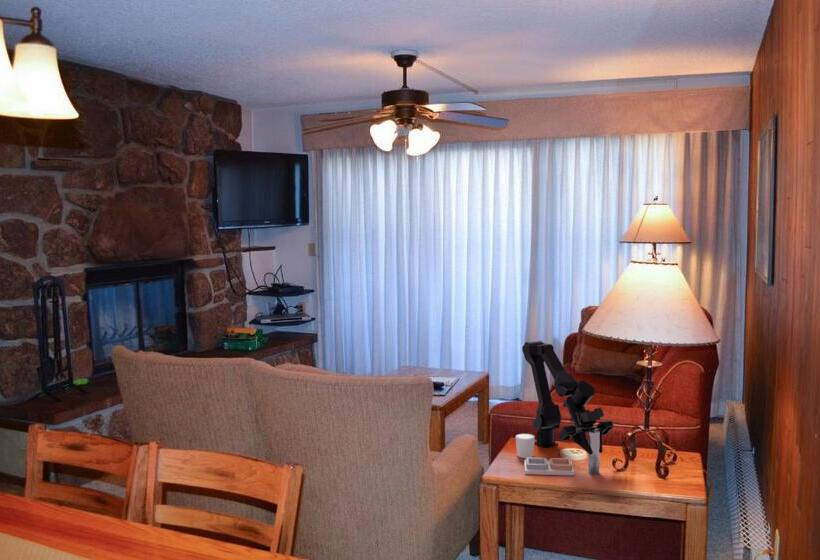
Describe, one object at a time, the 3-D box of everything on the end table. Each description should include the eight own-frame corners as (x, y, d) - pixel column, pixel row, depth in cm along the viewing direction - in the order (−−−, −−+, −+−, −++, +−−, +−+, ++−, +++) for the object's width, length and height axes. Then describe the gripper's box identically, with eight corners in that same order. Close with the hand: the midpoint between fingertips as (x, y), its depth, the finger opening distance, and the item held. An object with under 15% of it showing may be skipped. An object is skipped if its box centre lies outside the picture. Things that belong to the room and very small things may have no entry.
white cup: (536, 458, 259) (536, 439, 259) (516, 458, 260) (516, 439, 259) (533, 451, 266) (533, 433, 266) (514, 452, 266) (514, 433, 266)
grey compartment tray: (524, 463, 255) (524, 455, 254) (571, 464, 253) (571, 456, 253) (525, 474, 245) (525, 466, 245) (574, 475, 243) (574, 467, 243)
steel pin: (593, 469, 248) (593, 429, 246) (601, 472, 245) (602, 432, 243) (585, 472, 246) (586, 431, 244) (594, 475, 243) (594, 434, 241)
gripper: (563, 403, 243) (582, 445, 234) (611, 396, 249) (631, 438, 240) (550, 419, 251) (568, 461, 242) (597, 413, 258) (616, 453, 248)
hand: (596, 453), depth 243 cm, fingers closed on steel pin, 4 cm apart
